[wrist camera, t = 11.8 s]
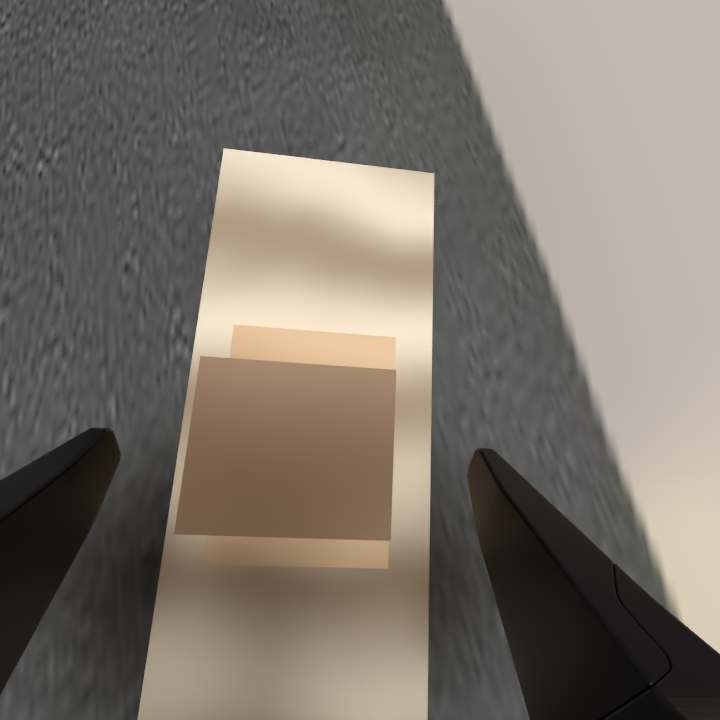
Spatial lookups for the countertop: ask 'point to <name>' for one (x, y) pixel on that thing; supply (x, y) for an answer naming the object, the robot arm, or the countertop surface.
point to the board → (410, 461)
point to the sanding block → (292, 450)
